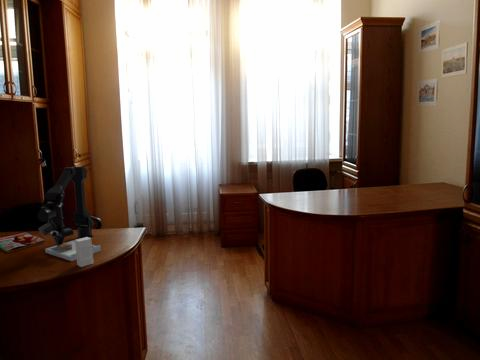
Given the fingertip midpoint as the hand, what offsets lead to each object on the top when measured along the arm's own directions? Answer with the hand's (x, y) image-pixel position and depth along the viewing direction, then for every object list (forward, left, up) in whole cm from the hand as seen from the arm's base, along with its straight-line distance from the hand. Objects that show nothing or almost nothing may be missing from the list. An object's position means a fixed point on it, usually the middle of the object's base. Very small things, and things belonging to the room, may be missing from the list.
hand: (59, 247), depth 197 cm
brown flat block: (-1, +4, -1) cm, 4 cm away
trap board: (-4, +5, -3) cm, 7 cm away
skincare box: (+3, +25, -3) cm, 25 cm away
